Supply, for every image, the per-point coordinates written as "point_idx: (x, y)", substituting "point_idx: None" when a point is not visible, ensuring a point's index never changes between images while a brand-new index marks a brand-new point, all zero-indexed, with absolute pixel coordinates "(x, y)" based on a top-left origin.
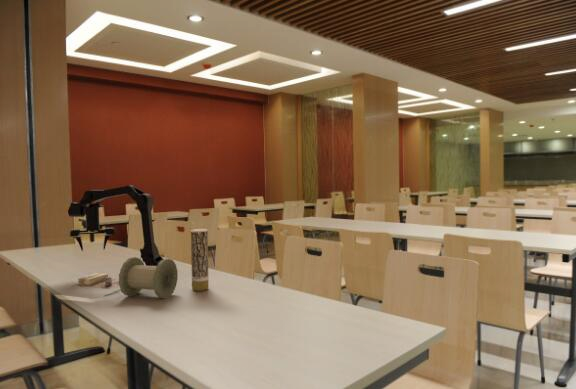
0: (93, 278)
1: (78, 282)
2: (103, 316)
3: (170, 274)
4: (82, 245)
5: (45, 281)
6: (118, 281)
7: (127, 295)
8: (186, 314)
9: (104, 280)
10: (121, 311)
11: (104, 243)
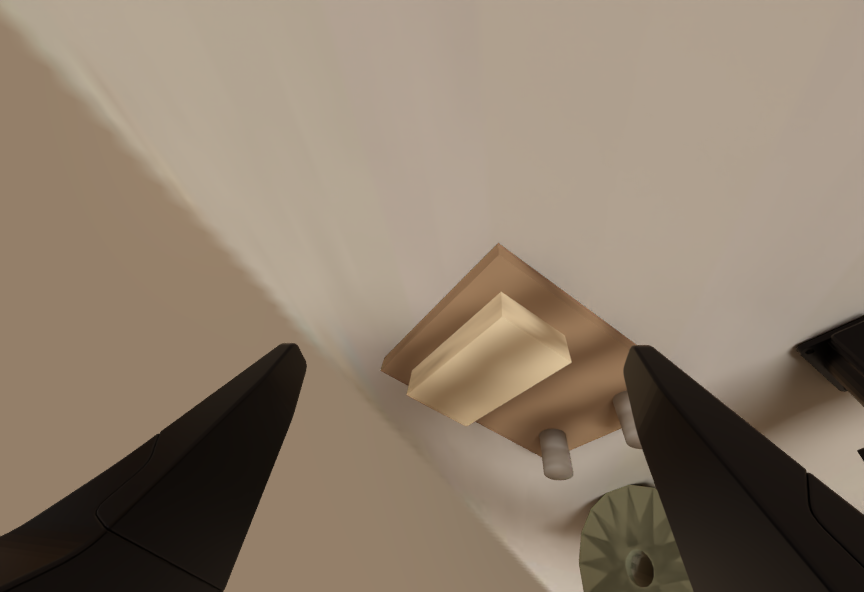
0: (485, 412)
1: (412, 377)
2: (521, 551)
3: None
4: (248, 425)
5: (130, 136)
6: (612, 393)
7: (599, 503)
8: None
9: None
10: (559, 548)
11: (682, 524)
